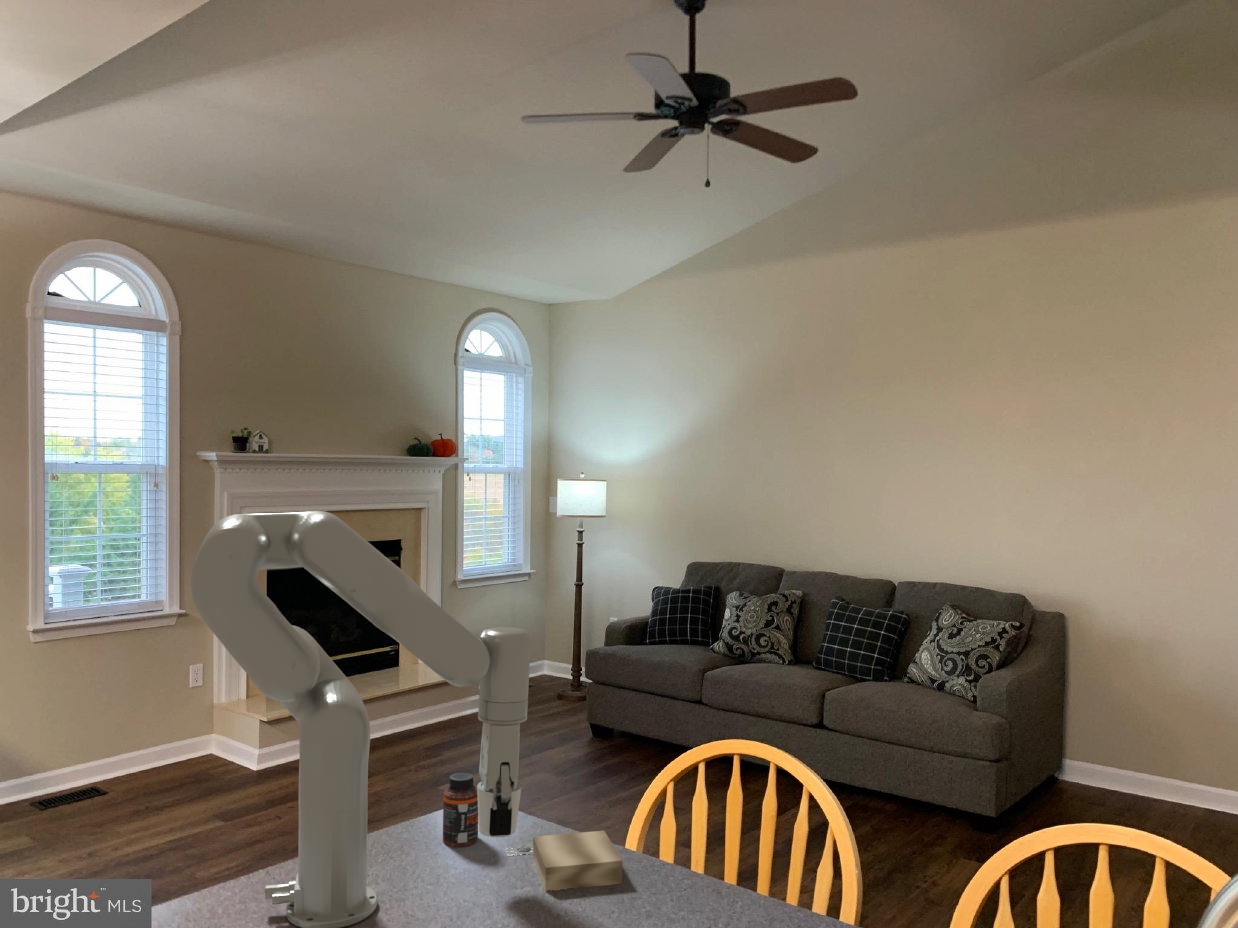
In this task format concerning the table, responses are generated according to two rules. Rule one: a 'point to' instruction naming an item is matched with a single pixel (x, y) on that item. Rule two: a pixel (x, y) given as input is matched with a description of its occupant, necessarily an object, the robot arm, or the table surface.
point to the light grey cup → (486, 803)
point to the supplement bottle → (460, 811)
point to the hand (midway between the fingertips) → (497, 825)
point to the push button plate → (521, 850)
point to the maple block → (576, 860)
